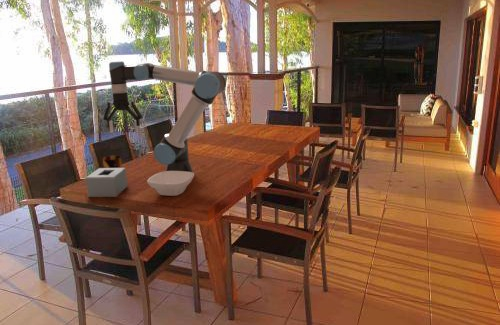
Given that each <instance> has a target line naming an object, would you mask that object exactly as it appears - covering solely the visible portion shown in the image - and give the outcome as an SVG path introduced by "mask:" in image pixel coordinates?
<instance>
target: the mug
mask: <svg viewBox="0 0 500 325" xmlns="http://www.w3.org/2000/svg"><path fill="white" fill-rule="evenodd" d="M102 165H103V166H102V168H123V164H122V156H120V155H108V156H104V157H103V158H102Z"/></svg>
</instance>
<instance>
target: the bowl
mask: <svg viewBox="0 0 500 325" xmlns="http://www.w3.org/2000/svg"><path fill="white" fill-rule="evenodd" d="M194 177H195V172H194V171H193V172H186V171H166V170H163V171H160V172H157V173H156V174H153V175H151V176H150V177H149V178H148V179H147V180H146V183H147V184H148V185H149V187H151V188H153V189H154V190H156V192H157V193H158V194H159V195H160V196H167V197H168V196H169V197H170V196H173V197H175V196H179V195H181V194H183V193H184V192H185V190H186V189H187V187H188V186H189V185H190V183H191V182H192V181H193V178H194Z"/></svg>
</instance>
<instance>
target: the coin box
mask: <svg viewBox="0 0 500 325" xmlns="http://www.w3.org/2000/svg"><path fill="white" fill-rule="evenodd" d="M101 174H102V175H101ZM127 178H128V177H127V169H126V167H122V168H104V167H99V168H97V169H95V171H93V172H91V173H90V174H89V175H87V176H86V177H85V181H86V186H87V187H86V188H87V194H88V198H97V197H99V198H101V197H103V198H105V197H108V198H111V197H118V196H119V195H120V194H121V193H122V192H124V190H125V189H126V188H127V187H128V179H127ZM121 191H122V192H121ZM119 193H120V194H119ZM118 194H119V195H118Z"/></svg>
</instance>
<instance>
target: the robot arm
mask: <svg viewBox="0 0 500 325" xmlns="http://www.w3.org/2000/svg"><path fill="white" fill-rule="evenodd" d="M108 68H109V70H108V71H109V76H110V77H109V78H110V83H111V84H110V85H111V86H110V87H111V92H112V101H107V104H106V105H107V107H106V110H105V111H104V112H105V113H104V115H103V118H102V119H103V121H106V122H107V128H109V131H110V132H109V134H114V132H115V131H114V122H113V120H112V118H113V117H114V116H115V114H116V113H117V112H118V111H127V112H128V113H129V115H131V117H133V119H135V120H134V121H133V122H134V131H135V133H139V132H140V130H139V126H140V120H141V119H143V114H142V113H141V112H140V111H139V108H138V107H137V106H136V102H135V100H131V101H129V93H128V92H127V91H128V87H127V86H128V85H127V81H145V80H147V79H148V80H149V79H150V80H157V81H163V82H169V83H174V84H179V85H181V84H182V85H186V86H192V87H193V89H192V90H191V98H190V99H189V101H188V103H187V104H186V105H185V107H184V109H183V111H182V112H181V114H180V115H179V117H178V118H177V120H176V122H175V124H174V125H173V127H172V128H171V130H170V132H169V133H165V134H164V136H163V138H162V139H161V141H160V142H159V143H158V144H156V146H155V147H154V149H153V155H154V158H155V160H156V161H157V162H158V163H159V164H161V165H163V166H166V169H165V171H186V172H193V173H194V169H193V167H192V164H191V162H190V159H189V142H188V136H189V135H190V133H191V131H192V130H193V128H194V127H195V125H196V124H197V122H198V120H199V119H200V118H201V116H202V114H203V112H204V111H205V109H206V108H207V107H208V106H209V105H212V104H213V103H214V101H215V99H216V97H217V96H218V95H219V94H221V93H222V92H223V91H224V90H225V88H226V86H227V85H226V84H227V82H226V78H225V76H224V75H223V74H222V73H221V72H218V71H209V70H202V71H195V70H188V69H181V68H175V67H170V66H166V65H165V66H163V65H157V64H153V63H150V62H146V63H140V64H131V65H129V64H128V65H127V64H125V62H124V61H119V60H118V61H110V62H109V63H108ZM129 105H130V106H131V107H132V109H133V110H132V109H131V107H130V106H129ZM112 107H114V108H113V109H112ZM111 109H112V111H111ZM110 111H111V113H110Z"/></svg>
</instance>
